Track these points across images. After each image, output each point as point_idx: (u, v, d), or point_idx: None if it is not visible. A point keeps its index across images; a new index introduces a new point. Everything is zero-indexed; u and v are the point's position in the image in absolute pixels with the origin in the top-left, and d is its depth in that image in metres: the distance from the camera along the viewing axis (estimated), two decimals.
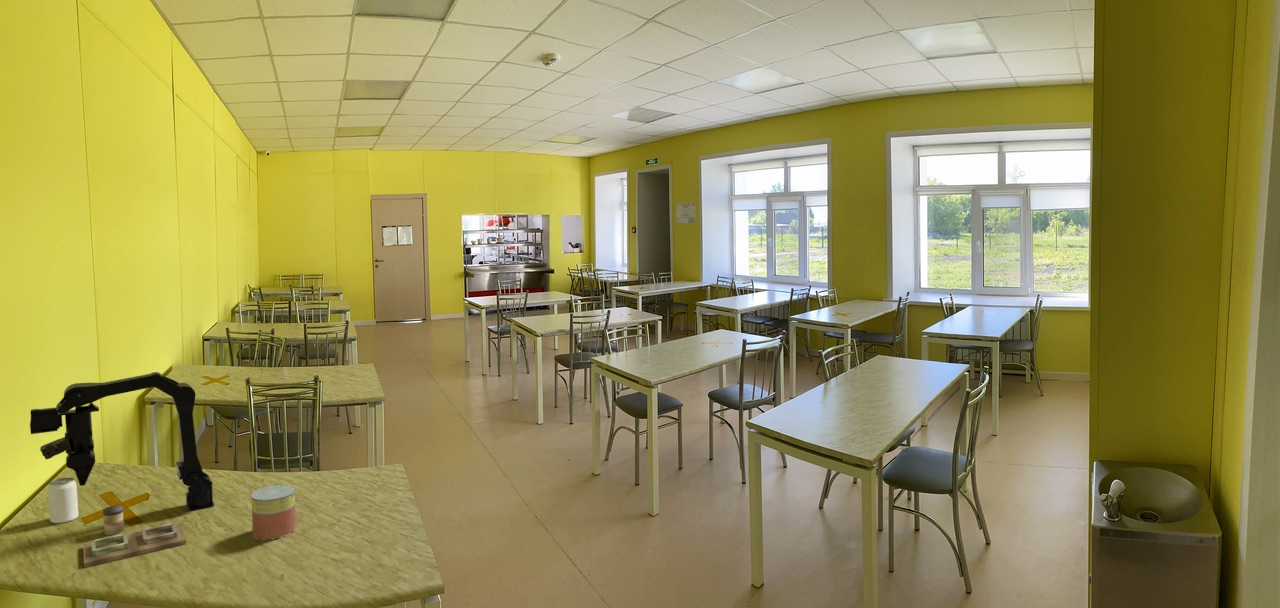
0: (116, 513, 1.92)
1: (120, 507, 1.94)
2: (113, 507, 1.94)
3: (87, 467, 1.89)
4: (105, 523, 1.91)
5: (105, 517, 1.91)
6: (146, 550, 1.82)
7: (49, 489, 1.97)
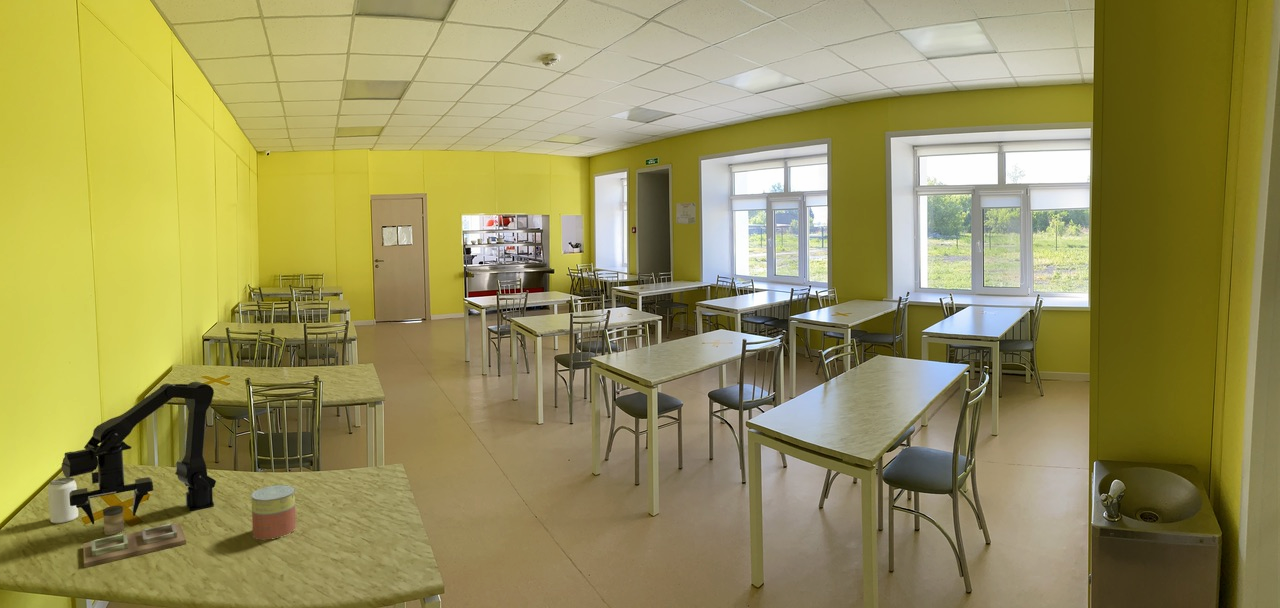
0: (116, 513, 1.92)
1: (120, 507, 1.94)
2: (113, 507, 1.94)
3: None
4: (105, 523, 1.91)
5: (105, 517, 1.91)
6: (146, 550, 1.82)
7: (49, 489, 1.97)
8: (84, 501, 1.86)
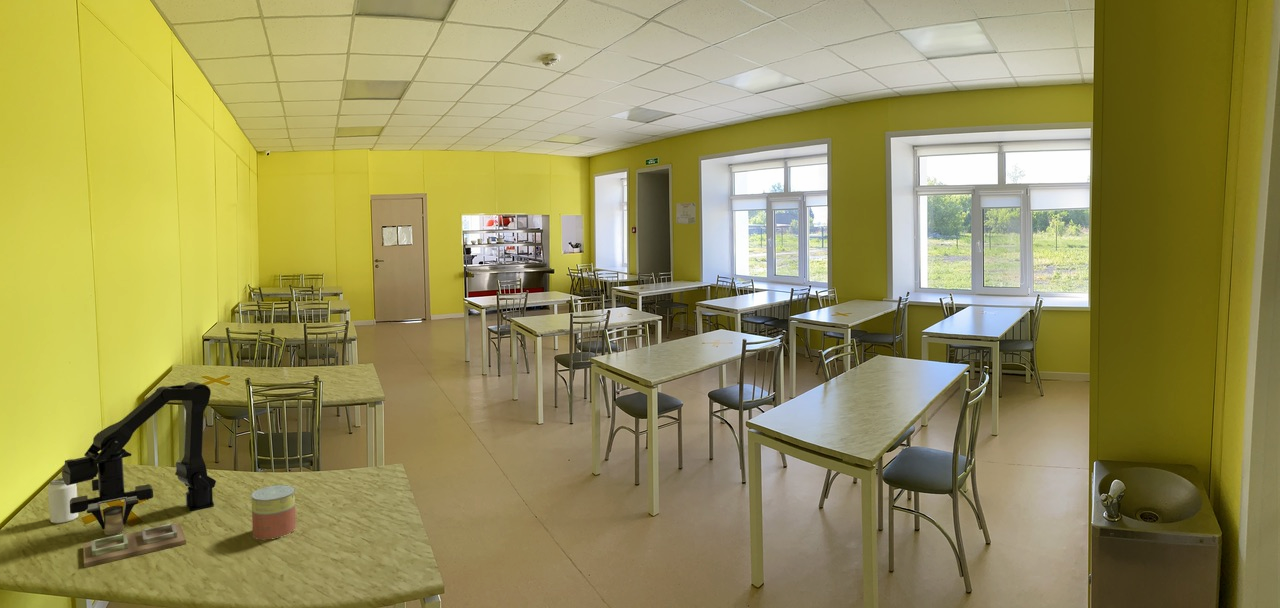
0: (116, 513, 1.92)
1: (120, 507, 1.94)
2: (113, 507, 1.94)
3: None
4: (105, 523, 1.91)
5: (105, 517, 1.91)
6: (146, 550, 1.82)
7: (49, 489, 1.97)
8: (84, 508, 1.86)
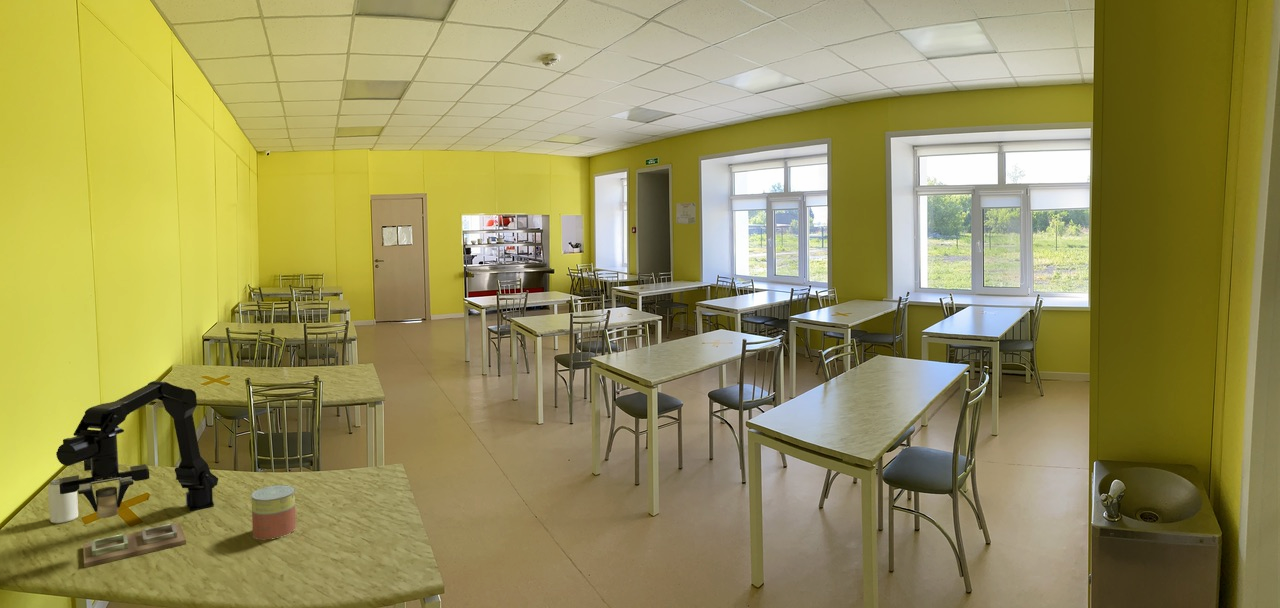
0: (110, 494, 1.79)
1: (114, 488, 1.81)
2: (106, 488, 1.81)
3: None
4: (98, 505, 1.79)
5: (98, 498, 1.78)
6: (146, 550, 1.82)
7: (49, 489, 1.97)
8: (75, 489, 1.74)
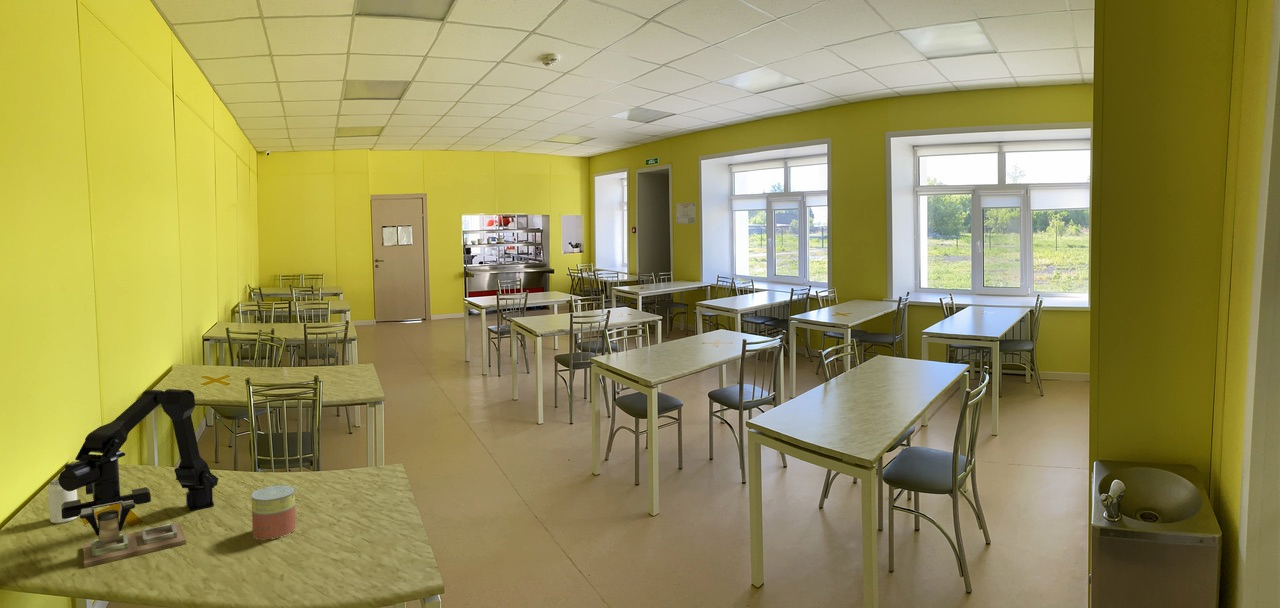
0: (111, 518, 1.80)
1: (115, 512, 1.82)
2: (108, 512, 1.82)
3: None
4: (99, 529, 1.79)
5: (99, 522, 1.79)
6: (146, 550, 1.82)
7: (49, 489, 1.97)
8: (77, 514, 1.74)
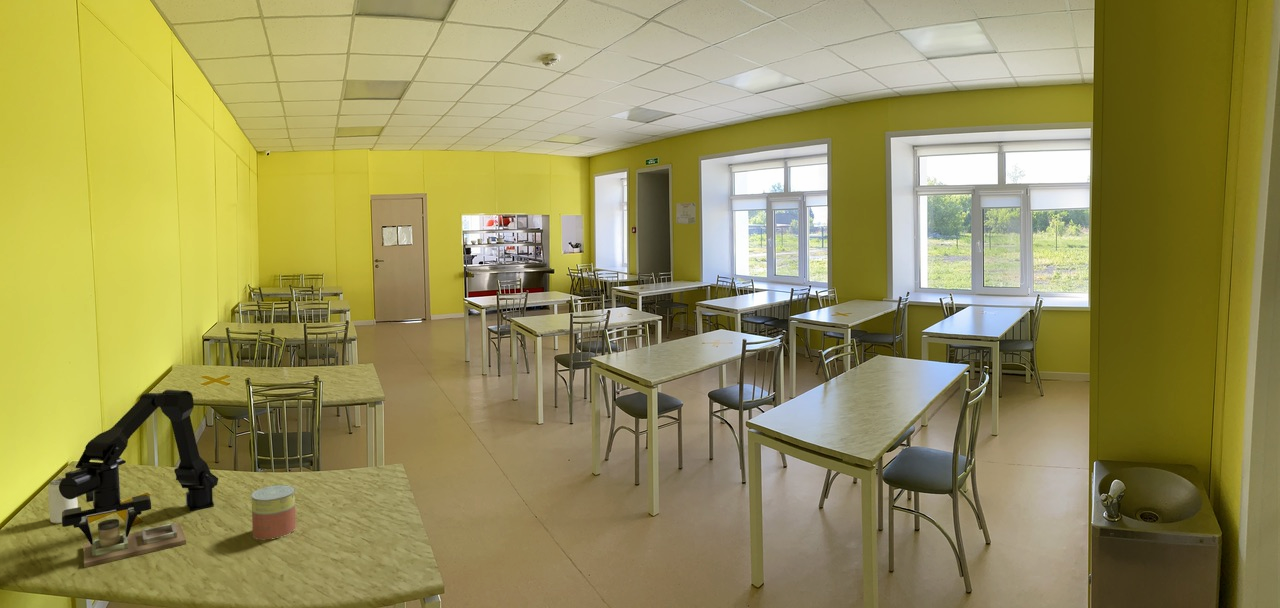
0: (112, 527, 1.80)
1: (116, 521, 1.82)
2: (109, 521, 1.82)
3: None
4: (100, 538, 1.80)
5: (100, 532, 1.79)
6: (146, 550, 1.82)
7: (49, 489, 1.97)
8: (77, 521, 1.75)
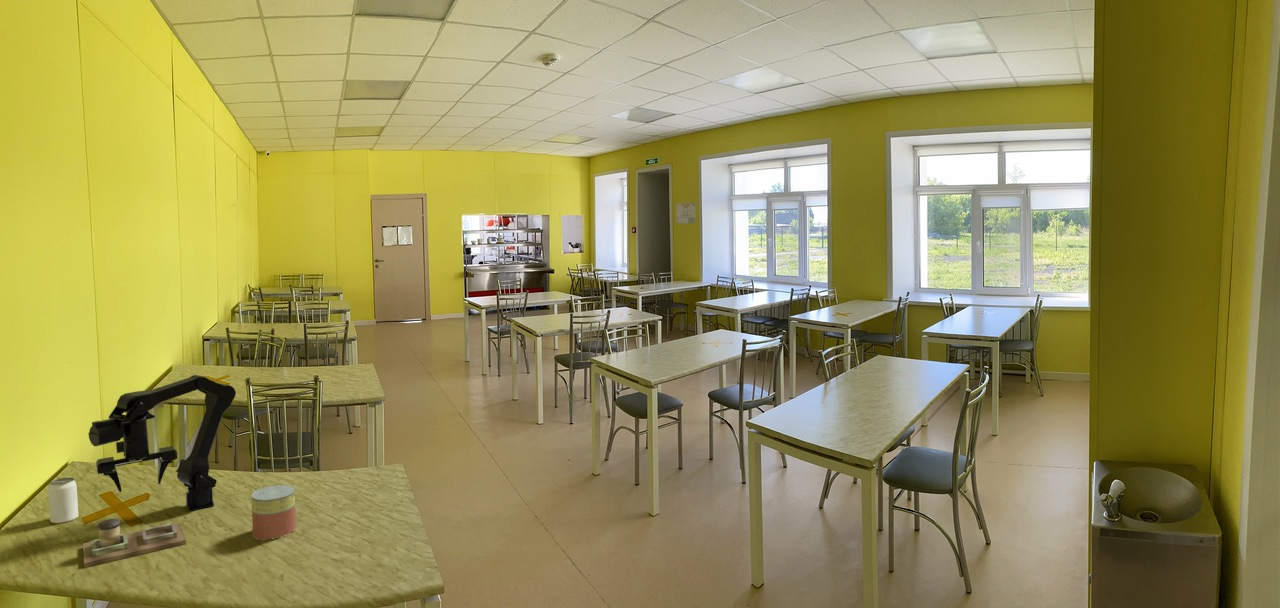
0: (112, 527, 1.80)
1: (116, 521, 1.82)
2: (109, 521, 1.82)
3: None
4: (100, 538, 1.80)
5: (100, 531, 1.79)
6: (146, 550, 1.82)
7: (49, 489, 1.97)
8: (111, 469, 1.90)
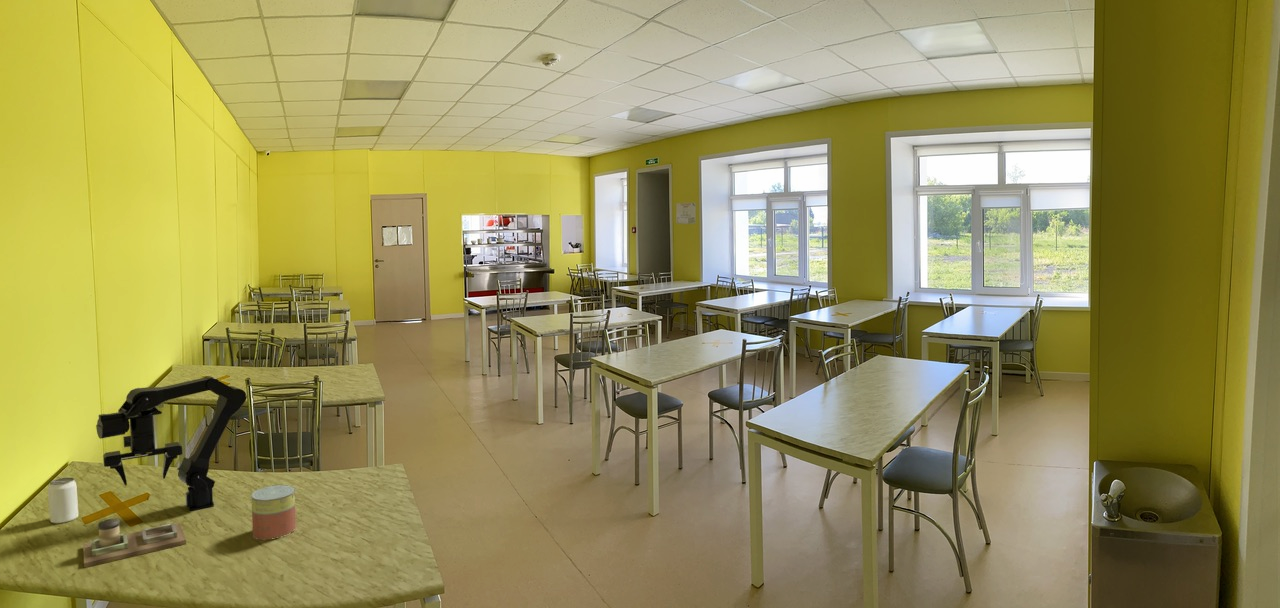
0: (112, 527, 1.80)
1: (116, 520, 1.82)
2: (109, 520, 1.82)
3: None
4: (100, 538, 1.80)
5: (100, 531, 1.80)
6: (146, 550, 1.82)
7: (49, 489, 1.97)
8: (117, 462, 1.93)
